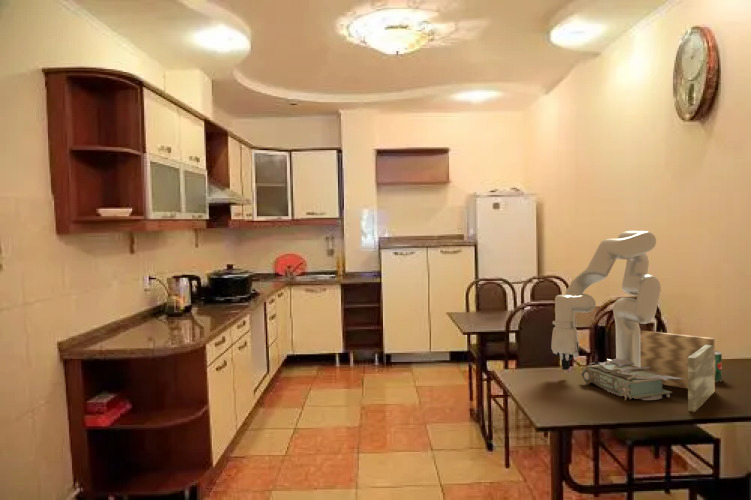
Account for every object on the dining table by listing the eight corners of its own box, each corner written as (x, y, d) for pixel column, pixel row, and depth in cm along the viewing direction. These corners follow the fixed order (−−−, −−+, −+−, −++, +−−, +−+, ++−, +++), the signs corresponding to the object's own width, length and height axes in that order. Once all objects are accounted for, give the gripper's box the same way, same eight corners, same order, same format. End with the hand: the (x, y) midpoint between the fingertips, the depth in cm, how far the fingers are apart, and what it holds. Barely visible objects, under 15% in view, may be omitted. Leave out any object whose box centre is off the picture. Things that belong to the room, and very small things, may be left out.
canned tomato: (726, 381, 204) (726, 354, 203) (706, 382, 204) (706, 354, 203) (713, 376, 211) (713, 349, 211) (694, 376, 212) (694, 349, 211)
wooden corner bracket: (616, 396, 190) (616, 342, 189) (642, 379, 210) (641, 330, 209) (695, 411, 172) (694, 352, 171) (714, 391, 192) (714, 338, 191)
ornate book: (577, 385, 208) (635, 406, 179) (576, 361, 208) (634, 378, 179) (623, 379, 215) (686, 398, 186) (622, 356, 215) (685, 371, 186)
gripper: (543, 324, 215) (544, 368, 216) (579, 328, 205) (579, 374, 205) (552, 321, 221) (552, 364, 221) (587, 325, 210) (587, 370, 211)
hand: (565, 369), depth 213 cm, fingers closed
